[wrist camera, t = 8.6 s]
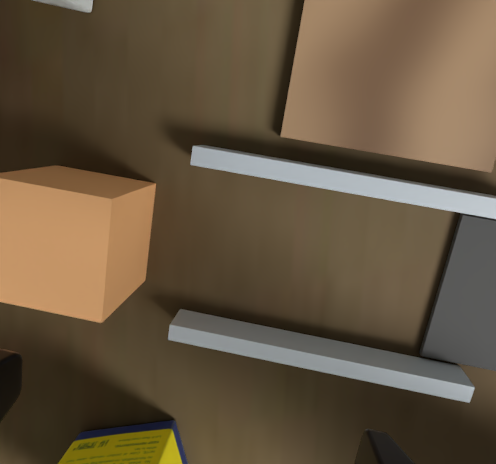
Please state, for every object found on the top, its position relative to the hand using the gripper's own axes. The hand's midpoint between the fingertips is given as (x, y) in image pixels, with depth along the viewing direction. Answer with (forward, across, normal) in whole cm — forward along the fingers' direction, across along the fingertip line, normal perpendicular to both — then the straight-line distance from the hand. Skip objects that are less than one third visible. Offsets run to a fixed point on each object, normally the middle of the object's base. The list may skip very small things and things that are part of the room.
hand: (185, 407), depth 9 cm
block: (+12, +8, 0) cm, 14 cm away
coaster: (+12, -5, -10) cm, 16 cm away
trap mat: (+12, -12, 0) cm, 17 cm away
